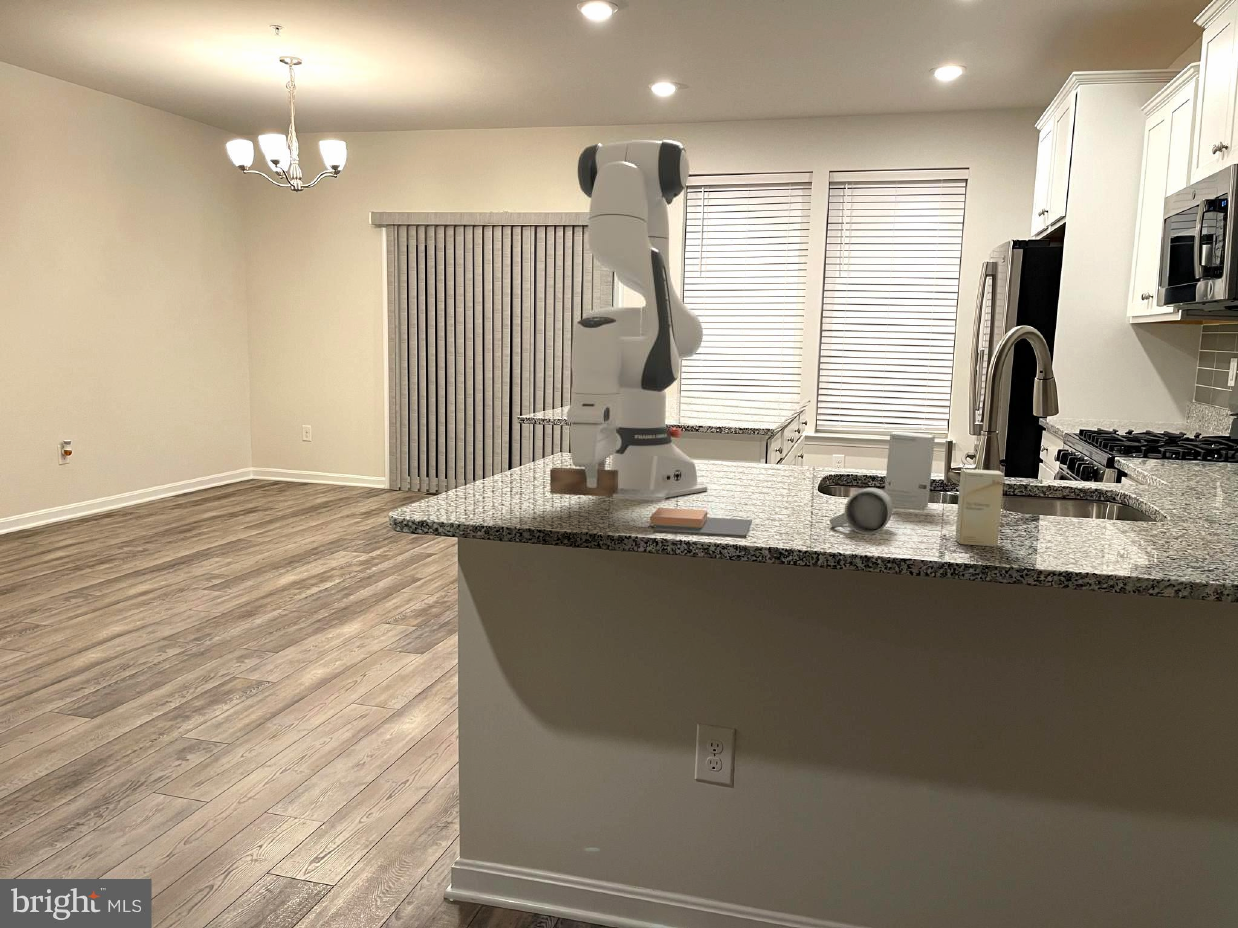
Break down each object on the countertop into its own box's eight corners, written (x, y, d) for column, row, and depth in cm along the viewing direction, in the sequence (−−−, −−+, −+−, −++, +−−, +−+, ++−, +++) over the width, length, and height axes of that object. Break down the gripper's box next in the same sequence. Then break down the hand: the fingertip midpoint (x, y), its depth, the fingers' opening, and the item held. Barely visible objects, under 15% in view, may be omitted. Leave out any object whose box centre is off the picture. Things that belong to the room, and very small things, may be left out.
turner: (547, 495, 162) (547, 471, 162) (556, 489, 168) (556, 466, 167) (663, 500, 158) (663, 476, 157) (668, 494, 164) (668, 470, 163)
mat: (652, 531, 155) (652, 529, 155) (665, 516, 168) (665, 514, 168) (746, 537, 152) (746, 535, 152) (751, 521, 165) (751, 519, 165)
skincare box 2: (959, 544, 149) (964, 472, 147) (954, 538, 153) (959, 468, 151) (999, 547, 148) (1005, 473, 146) (993, 541, 152) (999, 469, 150)
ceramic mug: (893, 527, 162) (895, 484, 161) (888, 536, 154) (890, 492, 153) (833, 523, 166) (834, 481, 165) (825, 531, 158) (827, 488, 157)
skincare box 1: (882, 507, 180) (887, 433, 178) (887, 502, 185) (892, 430, 183) (926, 511, 176) (931, 436, 174) (930, 506, 182) (935, 433, 180)
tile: (650, 516, 158) (701, 519, 156) (658, 507, 165) (707, 510, 164) (650, 526, 158) (701, 529, 156) (658, 517, 166) (707, 520, 164)
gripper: (592, 403, 172) (591, 475, 174) (564, 413, 152) (563, 494, 154) (624, 404, 171) (623, 476, 173) (600, 414, 151) (599, 495, 153)
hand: (595, 485), depth 163 cm, fingers closed on turner, 3 cm apart
